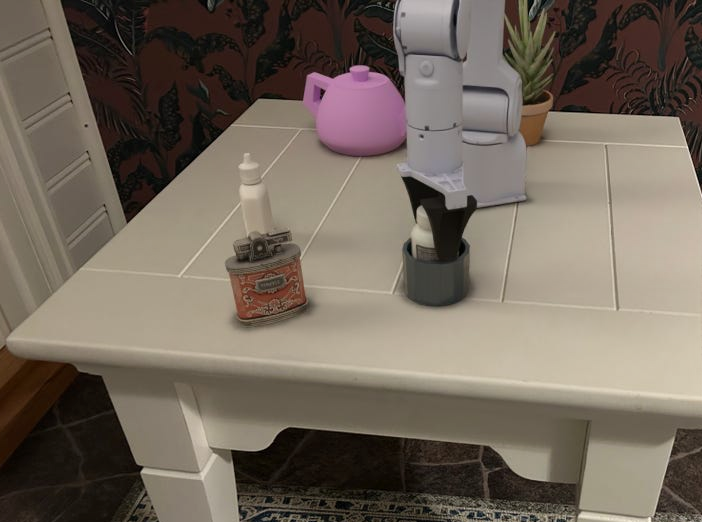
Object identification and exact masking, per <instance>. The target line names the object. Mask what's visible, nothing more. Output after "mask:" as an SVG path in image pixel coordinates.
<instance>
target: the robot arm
mask: <svg viewBox="0 0 702 522" xmlns="http://www.w3.org/2000/svg"><path fill="white" fill-rule="evenodd" d="M505 7H506V0H396V2H395V5H394V11H393V28H392V29H393V30H392V31H393V42H394V47H395V51H396V53H397V58H398V71H399V73H400V76H402V77H403V79H404V102H405V106H406V131H407V138H406V154H407V155H406V161H405V162H401V163H398V164H396V172H397V173H398V175H399V176H400V178H401V180H402V182H403V184H404V187H405V189H406V191H407V195H408V198H409V203H410V205H411V210H412V215H413V219H414V222H415V225H417V220H416V218H417V209H418V207H420V206H421V205H422V206H423V208H424V210H425V212H426V214H427V216H428V219H429V222H430V225H431V229H432V235H433V241H434V247H435V251H436V254H437V257H438V258H439V259H440V260H441V259H447V258H453V257H456V256H457V254H458V250H459V247H460V243H461V239H462V238H463V235H464V232H465V229H466V227H467V224H468V222H469V221H470V219H471V217H472V216H473V214H474V213H475V212H476V210H477V209H479V208H484V207H485V208H486V207H493V206H497V205H503V204H511V203H516V202H517V203H518V202H523V201H527V195H525V194H526V193H525V191H526V177H527V164H528V163H527V161H528V152H527V146H526V144H525V141H524V138H523V136H522V134H521V133H520V132H519V131H518V130H519V127H520V122H521V115H522V80H521V76H520V75H519V74H518V72H516V71H515V70H514V67H513V66H512V65H511V64H510V65H511V66H510V65H508V64H507V63H506V62H505V61H504V60H503V59H502V54H503V52H504V51H503V50H504V29H505V28H504V27H505V17H504V13H505ZM465 57H466V60H465V61H464V59H465Z"/></svg>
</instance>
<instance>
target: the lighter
mask: <svg viewBox="0 0 702 522" xmlns="http://www.w3.org/2000/svg"><path fill="white" fill-rule="evenodd" d="M292 241H293V236H292V231H291V229H290V228H288V227H282V228H277V229H274V230H272V231H268V232H267V233H265V234H260V233H259V232H257V231H254V232H251V233H249V235H248V237H247V236H246V237H244V238H239V239H235V240H233V241H232V247H233V251H234V253H235V255H232V256H230V257H228V258H226V259H225V261H224V266H225V270H226V272H227V273H228V275H229V281H230V286H231V291H232V294H233V298H234V303H235V307H236V311H237V312H236V320H237V324H238V325H239V326H241V327H243V328H252V327H258V326H263V325H264V326H265V325H268V324H272V323H277V322H280V321H283V320H286V319H289V318H292V317H296V316H298V315H301V314H302V313H305V312H307V311H308V309H309V306H310V305H309V300H308V297H306V290H305V284H304V277H303V270H302V269H303V268H302V261H301V257H302V251H301V247H300V246H299V245H298V244H297V243H291V242H292Z"/></svg>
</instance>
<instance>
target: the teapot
mask: <svg viewBox="0 0 702 522" xmlns="http://www.w3.org/2000/svg"><path fill="white" fill-rule="evenodd" d="M322 90H324V94H323V96H322V98H321V91H322ZM302 105H303V107H304V108H305V109H306V110H307V111H308V112H309V113H310V114H311V116H312V117H313V118H314V119H315V120H316V123H315V127H316V128H315V129H316V130H315V131H316V135H317V137H318V138H319V140H320V141H321V142H322V143H323V144H324V145H325V146H326V147H328V148H329V150H331V151H333V152H335V153H337V154H340V155H345V156H352V157H353V156H354V157H371V156H377V155H383V154H387V153H390V152H391V151H392V152H393V151H395V150H397V149H398V148H400V146H402V144H403V143H404V142H405V141H406V140H407V131H406V106H405V99H404V98H403V97H402V95H401V94H400V92H399V90H398V89H397V87H396V86H395V84H394V83H393V82H392V81H391V79H390V78H389V77H388V76H387V75H385V74H382V73H378V72H374V71H370V67H369V66H368V65H361V64H360V65H353V66H350V67H349V72H346V73H342V74H338V75H337V76H335V77H334V78H332V77H329V76H326V75H324V74H321V73H318V72H315V71H314V72H312V73H310V74H309V73H308V74H307V75H306V80H305V87H304V93H303V99H302Z"/></svg>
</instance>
